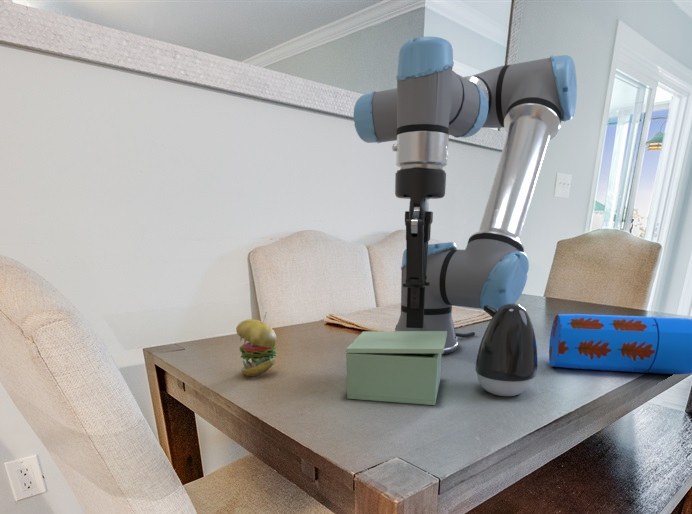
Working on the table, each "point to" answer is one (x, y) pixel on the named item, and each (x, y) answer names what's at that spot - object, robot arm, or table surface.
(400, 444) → the table surface
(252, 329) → the hamburger
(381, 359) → the keepsake box
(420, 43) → the robot arm
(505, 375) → the pump dispenser
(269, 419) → the table surface
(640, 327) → the thermos
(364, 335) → the lid
